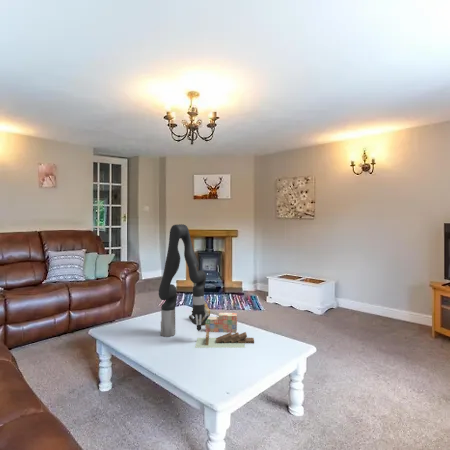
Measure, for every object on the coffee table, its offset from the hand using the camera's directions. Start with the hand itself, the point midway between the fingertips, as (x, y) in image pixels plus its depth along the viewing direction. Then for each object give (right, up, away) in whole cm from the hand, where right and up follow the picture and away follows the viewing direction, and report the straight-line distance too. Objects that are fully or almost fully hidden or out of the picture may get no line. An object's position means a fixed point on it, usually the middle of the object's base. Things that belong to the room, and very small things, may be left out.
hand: (199, 330), depth 203 cm
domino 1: (+5, -5, -5) cm, 9 cm away
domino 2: (+11, -7, 0) cm, 13 cm away
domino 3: (+16, -6, 0) cm, 17 cm away
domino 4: (+20, -6, 0) cm, 21 cm away
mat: (+13, -8, -1) cm, 15 cm away
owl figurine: (-2, -7, +39) cm, 40 cm away
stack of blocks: (+14, -8, +20) cm, 25 cm away
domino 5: (+24, -6, 0) cm, 25 cm away
